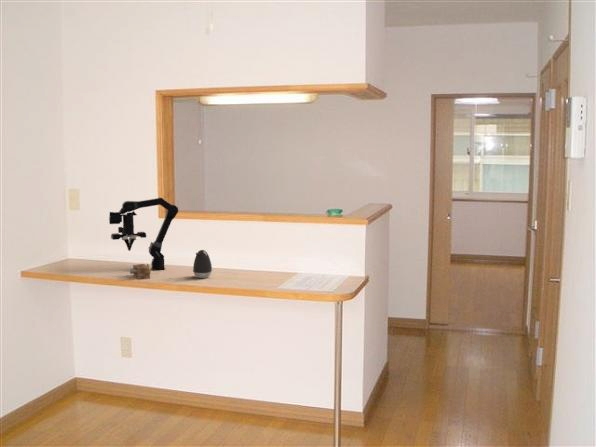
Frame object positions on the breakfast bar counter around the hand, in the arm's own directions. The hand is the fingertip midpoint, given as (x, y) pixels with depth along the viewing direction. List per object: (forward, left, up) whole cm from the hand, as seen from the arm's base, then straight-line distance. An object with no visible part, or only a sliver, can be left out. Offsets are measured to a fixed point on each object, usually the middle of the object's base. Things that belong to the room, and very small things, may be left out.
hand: (129, 250), depth 350 cm
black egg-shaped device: (-31, +36, -12) cm, 49 cm away
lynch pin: (-1, +19, -11) cm, 22 cm away
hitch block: (-2, +19, -12) cm, 23 cm away
